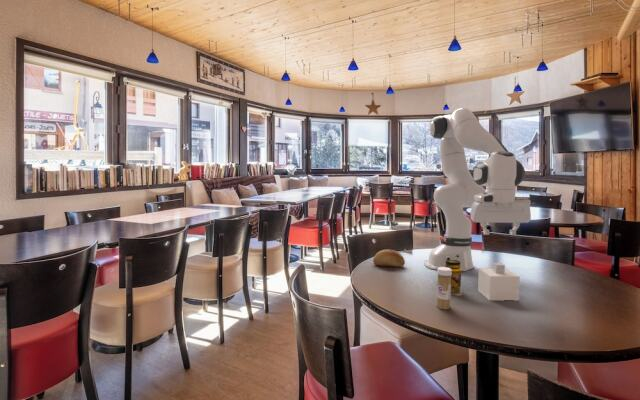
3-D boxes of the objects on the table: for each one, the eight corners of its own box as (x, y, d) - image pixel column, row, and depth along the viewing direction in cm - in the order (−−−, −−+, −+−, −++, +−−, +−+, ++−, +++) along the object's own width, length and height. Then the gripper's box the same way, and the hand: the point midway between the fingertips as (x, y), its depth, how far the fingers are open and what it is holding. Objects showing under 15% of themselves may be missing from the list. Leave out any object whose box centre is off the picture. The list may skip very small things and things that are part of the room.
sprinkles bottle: (434, 307, 124) (435, 268, 123) (439, 303, 128) (440, 265, 127) (447, 311, 122) (448, 271, 120) (452, 306, 125) (453, 268, 124)
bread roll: (403, 270, 169) (403, 253, 168) (371, 267, 174) (371, 250, 173) (405, 264, 178) (405, 248, 178) (374, 262, 183) (374, 246, 182)
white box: (489, 300, 131) (490, 267, 130) (477, 290, 141) (479, 260, 140) (518, 300, 131) (520, 268, 129) (504, 290, 141) (506, 260, 140)
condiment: (461, 295, 136) (463, 264, 135) (437, 293, 138) (438, 262, 137) (460, 289, 143) (461, 259, 141) (437, 287, 145) (438, 257, 144)
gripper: (526, 196, 135) (524, 233, 137) (469, 195, 136) (468, 232, 137) (535, 197, 129) (533, 236, 130) (476, 197, 130) (474, 236, 131)
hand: (499, 234), depth 134 cm, fingers open, 8 cm apart
